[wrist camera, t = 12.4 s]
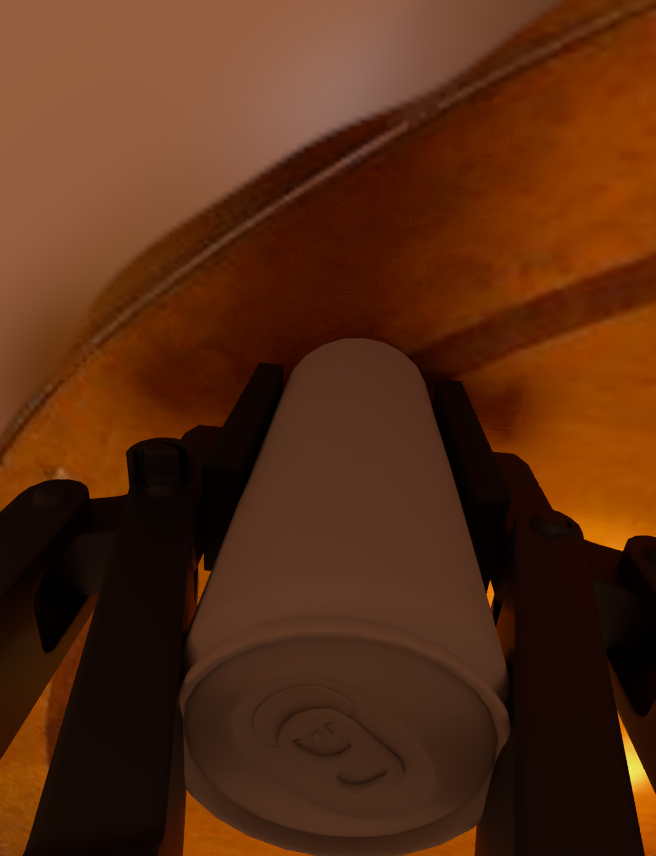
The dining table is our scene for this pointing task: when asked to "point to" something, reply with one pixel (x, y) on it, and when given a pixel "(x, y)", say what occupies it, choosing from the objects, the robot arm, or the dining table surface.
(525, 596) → the robot arm
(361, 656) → the beverage can
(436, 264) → the dining table surface
